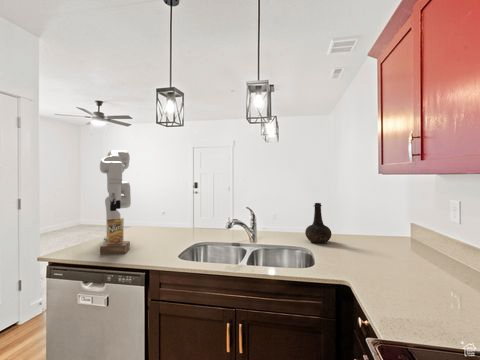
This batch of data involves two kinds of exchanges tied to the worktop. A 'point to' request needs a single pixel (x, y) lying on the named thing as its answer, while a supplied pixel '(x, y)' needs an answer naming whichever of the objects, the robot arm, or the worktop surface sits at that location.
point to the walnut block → (114, 248)
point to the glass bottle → (318, 228)
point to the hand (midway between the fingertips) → (115, 209)
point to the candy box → (115, 231)
